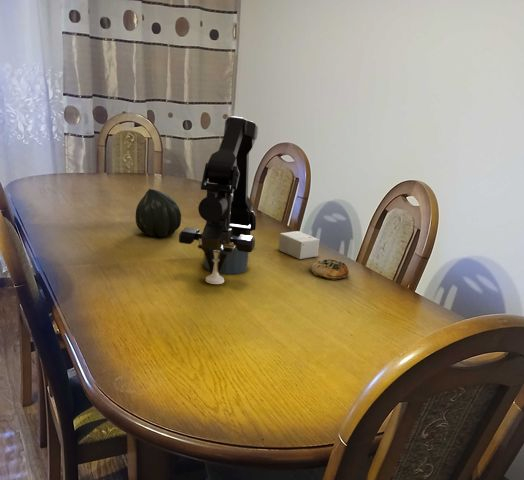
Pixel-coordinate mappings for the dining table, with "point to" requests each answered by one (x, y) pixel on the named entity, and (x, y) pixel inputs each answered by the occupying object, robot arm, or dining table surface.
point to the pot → (231, 262)
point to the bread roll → (330, 269)
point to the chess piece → (215, 270)
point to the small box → (298, 244)
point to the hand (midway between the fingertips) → (215, 271)
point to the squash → (157, 214)
